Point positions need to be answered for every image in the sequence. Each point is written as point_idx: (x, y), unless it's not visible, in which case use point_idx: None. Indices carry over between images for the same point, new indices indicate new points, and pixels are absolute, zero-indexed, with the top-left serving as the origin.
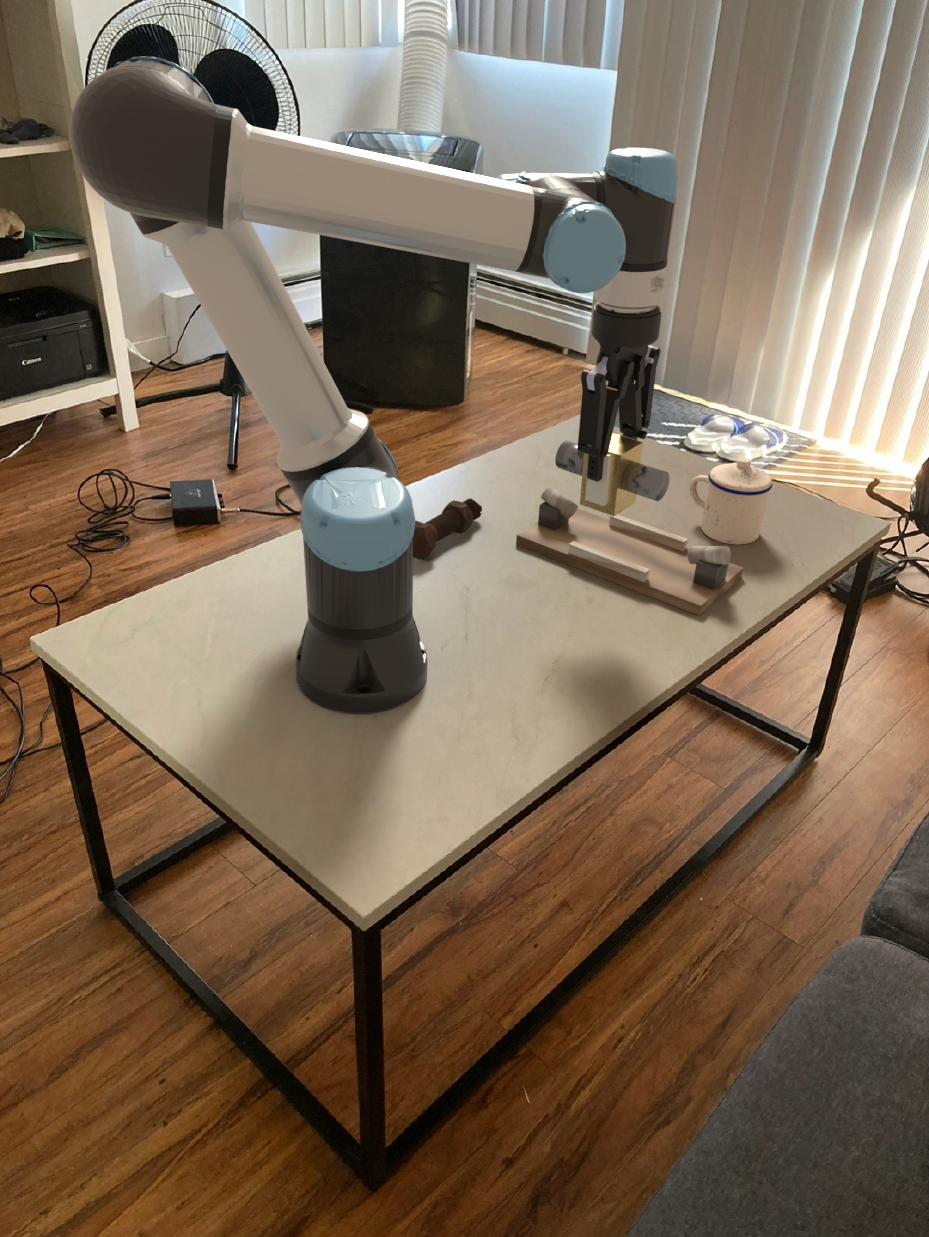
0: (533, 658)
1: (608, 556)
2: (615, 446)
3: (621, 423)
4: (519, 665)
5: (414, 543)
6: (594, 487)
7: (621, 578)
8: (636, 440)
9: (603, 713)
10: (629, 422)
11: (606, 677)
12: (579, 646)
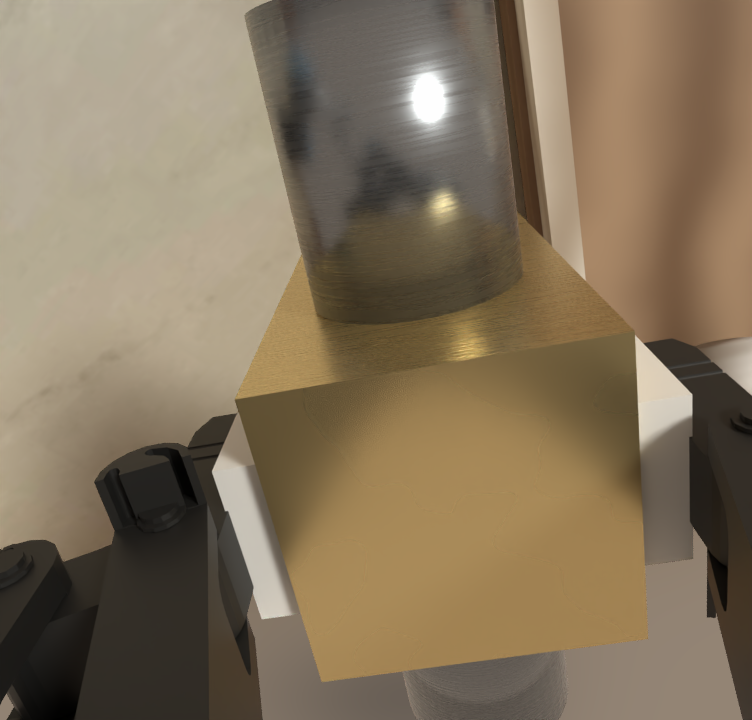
0: (65, 316)
1: (554, 136)
2: (413, 575)
3: (724, 499)
4: (15, 317)
5: None
6: None
7: (529, 204)
8: (645, 594)
9: (90, 530)
10: (734, 608)
11: None
12: (202, 346)
